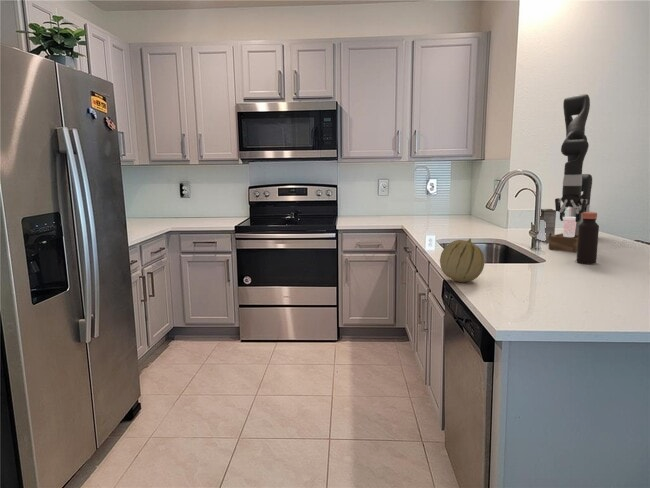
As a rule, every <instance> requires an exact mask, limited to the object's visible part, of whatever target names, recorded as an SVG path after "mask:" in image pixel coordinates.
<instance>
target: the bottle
mask: <svg viewBox="0 0 650 488" xmlns="http://www.w3.org/2000/svg"><path fill="white" fill-rule="evenodd" d="M582 218H583V222H582V223H581V224H580V225H579V232H578V246H577V252H576V259H575V261H576V262H577V263H578V264H583V265H594V264H596V263H597V256H598V255H597V254H598V246H599V245H598V243H599V232H600V231H599V230H600V226H599V224H598V223H597V222H596V221H597V218H598V213H597V212H592V211H589V212H583V214H582Z"/></svg>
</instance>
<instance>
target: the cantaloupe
mask: <svg viewBox="0 0 650 488" xmlns="http://www.w3.org/2000/svg"><path fill="white" fill-rule="evenodd" d="M484 255H485V254H484V253H483V251H482V249H481V247H479V246H478V245H477V244H475V243H474V242H472V239H471V238H468V240H465V239H456V240H454V241H451V242H449V243H448V244H447V245H446V246H445V247H444V248H443V249H442V251H441V253H440V257H439V264H440V269H441V271H442V273H443V274H444V275H445V277H448V278H449V279H451V280H453V281H454V282H457V283H468V282H472V281H474V280H476V279H477V278H478V277H479V276H480V275H481V274H482V272H483V270H484V267H485V256H484Z"/></svg>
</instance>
